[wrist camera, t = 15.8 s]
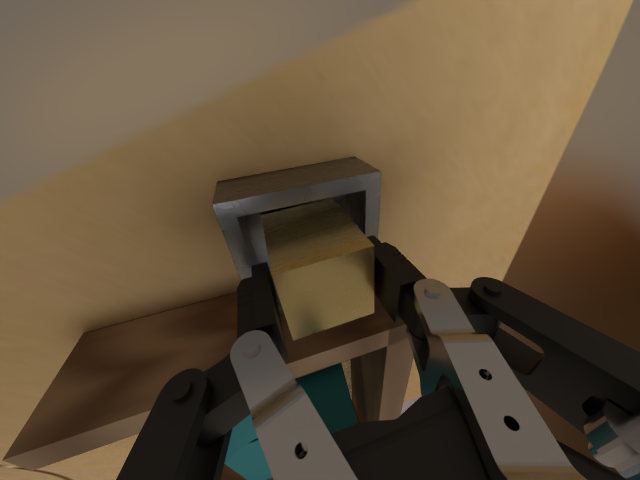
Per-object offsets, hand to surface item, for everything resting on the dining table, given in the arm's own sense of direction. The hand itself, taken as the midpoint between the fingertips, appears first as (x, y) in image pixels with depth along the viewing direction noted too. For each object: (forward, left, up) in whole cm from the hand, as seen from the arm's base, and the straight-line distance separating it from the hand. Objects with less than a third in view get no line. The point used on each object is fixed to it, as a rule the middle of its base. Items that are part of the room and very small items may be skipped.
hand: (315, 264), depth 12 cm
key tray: (0, 0, -4) cm, 4 cm away
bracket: (-4, -16, -4) cm, 17 cm away
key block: (0, 0, -3) cm, 3 cm away
